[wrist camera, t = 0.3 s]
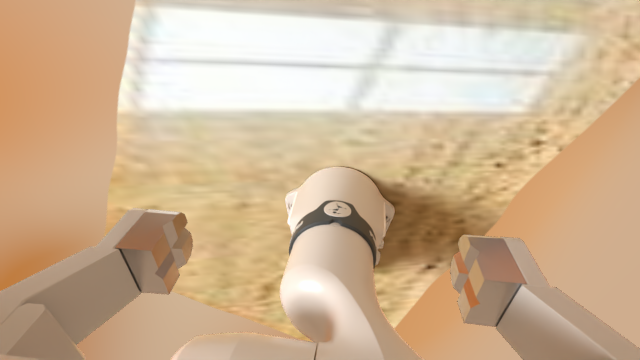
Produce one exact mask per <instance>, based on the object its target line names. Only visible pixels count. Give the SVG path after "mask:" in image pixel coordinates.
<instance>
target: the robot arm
mask: <svg viewBox="0 0 640 360" xmlns="http://www.w3.org/2000/svg"><path fill="white" fill-rule="evenodd" d="M285 202H286V207H287V212H288V217H289V218H288V224H289V225H290V230H291V234H292V237H291V240H290V247H289V260H288V263H287V266H286V269H285V272H284V275H283V278H282V281H281V285H280V299H281V303H282V306H283V309H284V311H285V313H286V314H287V316H288V318H289V319H290V321H291V323H292V324H293V325H294V326H295V327H296V328H297V329H298V330H299V331H300V332H301V333H302V334H304V335H305V336H306V337H308V338H309V339H310V340H312V341H313V342H310V341H303V340H297V339H290V338H284V337H277V336H271V335H264V334H258V333H252V332H240V333H239V332H238V333H220V334H208V335H198V336H196V337H194V338H192V339H191V340H190V341H188V342H187V343H186V344H185V345H183V346H182V347H181V348H180V349H179V350H178V351H177V352H176V353H175V354H174V356H173V357H172V358H171V359H170V360H424V359H423V358H422V357H421V356H419V355H418V354H417V353H416V352H415V351H414V350H412V348H411V347H410V346H409V345H407V343H406V342H405V341H404V340H403V339H402V338H401V337H400V336H399V334H398V333H397V332H396V331H395V329H394V328H393V327H392V325H391V324H390V322H389V321H388V320H387V318H386V316H385V315H384V313H383V311H382V309H381V307H380V305H379V302H378V299H377V295H376V289H375V281H374V267H375V265H378V263H379V260H380V252H379V251H378V249H379V248H380V249H382V248H383V246H384V240H383V238H384V237H385V234H386V231H387V229H388V227H389V225H390V223H391V221H392V219H393V216H394V214H395V208H394V206H393V205H392V204H391V203H390V202H388V201H387V200H386V199H384V198H383V197H382V195H381V194H380V192H379V190H378V188H377V186H376V185H375V184H374V182H373V181H372V180H371V179H370V178H368V177H367V176H366V175H364V174H363V173H361V172H359V171H357V170H354V169H351V168H346V167H330V168H325V169H322V170H320V171H318V172H316V173H314V174H313V175H311V176H310V177H309V178H308V179H307V180H306V181H305V182H304V183H303V184H302V185H301V186H300V187H299V188H297V189H294V190H292V191H290V192H289V193H288V194H287V195H286V199H285ZM386 216H387V217H386ZM187 223H188V222H187V219H186V217H185V214H183V213H180V212H171V211H161V210H151V209H150V210H147V209H138V208H133V209H131V210H128V212H127V213H126V214H125V215H124V216H123V217H122V218H121V219H120V220H119V221H118V223H117V224H116V225H115V226H114V227H113V228H112V229H111V230H110V231H109V232H108V234H107V235H106V236H105V237H104V238H103V239H102V240H101V241H100V242H99V243H98V245H97V246H96V247H88V248H86V249H84V250H82V251H80V252H78V253H76V254H74V255H72V256H70V257H68V258H66V259H64V260H62V261H60V262H58V263H56V264H54V265H52V266H50V267H48V268H46V269H44V270H42V271H40V272H38V273H36V274H34V275H32V276H30V277H28V278H26V279H24V280H22V281H20V282H18V283H16V284H14V285H12V286H10V287H8V288H7V289H4V290H2V291H0V360H86V358H85V355H84V354H83V353H82V351H81V350H80V349H79V348H78V347H77V344H78V343H79V342H81V341H82V340H83V339H84V338H86V337H87V336H88V335H90V334H91V333H92V332H93V331H95V330H96V329H97V328H98V327H100V326H101V325H102V324H103V323H105V322H106V321H107V320H109V319H110V318H111V317H112V316H114V315H115V314H116V313H117V312H119V311H120V310H121V309H122V308H124V307H125V306H126V305H127V304H129V303H130V302H131V301H133V300H134V299H135V298H136V297H138V296H139V295H140V294H141V293H156V294H170V292H171V290H172V288H173V287H174V285H175V283H176V281H177V279H178V278H179V276H180V275H179V271H178V269H179V268H180V267H182V266H183V265H185V264H186V263H187V261H188V259H189V258H190V256H191V251H192V247H193V240H192V236H191V233H190V232H189V231H188V230H187V229H185V228H184V227H185V226H186V224H187ZM458 247H459V250H460V251H459V252H457V253H456V254H454V255H453V258H452V262H451V270H450V274H451V280H452V284H453V288H454V289H456V290H457V291H458V292H459V293H460V296H459V298H458V301H457V302H458V305H459V309H460V312H461V315H462V318H463V322H464V323H468V324H476V325H484V326H492V327H496V329H497V330H498V332H499V333H500V334H501V335H502V336H503V337H504V338H505V340H506V341H507V342H508V343H509V344H510V345H511V346H512V348H513V349H514V350H515V351H516V352H517V353H518V354H519V355H520V357H521V358H522V359H523V360H640V348H638V347H637V346H636V345H634V344H633V343H631V342H630V341H629V340H627V339H626V338H625V337H623V336H622V335H621V334H619V333H618V332H616V331H615V330H614V329H612V328H611V327H610V326H608V325H607V324H605V323H604V322H603V321H601V320H600V319H599V318H597V317H596V316H595V315H593V314H592V313H590V312H589V311H588V310H587V309H585V308H584V307H582V306H581V305H580V304H578V303H577V302H575V301H574V300H573V299H571V298H570V297H569V296H567V295H566V294H565V293H563V292H562V291H561V290H559V289H558V288H557V287H550V286H549V284H548V282H547V280H546V279H545V277H544V275H543V273H542V272H541V270H540V268H539V267H538V265H537V263H536V262H535V260H534V258H533V257H532V255H531V253H530V251H529V250H528V248H527V246H526V245H525V243H524V241H522V240H521V239H520V238H509V237H492V236H477V235H462V236H461V237H460V239H459V242H458ZM140 292H141V293H140Z"/></svg>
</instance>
